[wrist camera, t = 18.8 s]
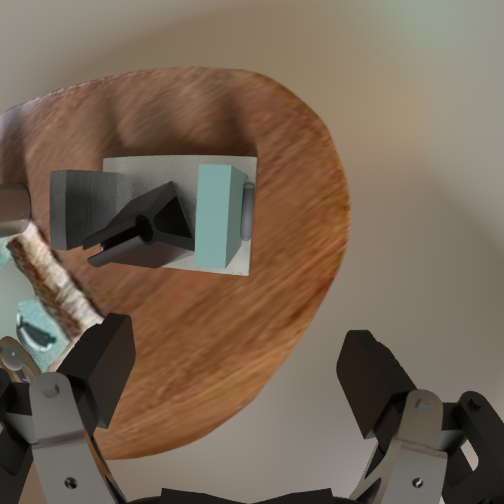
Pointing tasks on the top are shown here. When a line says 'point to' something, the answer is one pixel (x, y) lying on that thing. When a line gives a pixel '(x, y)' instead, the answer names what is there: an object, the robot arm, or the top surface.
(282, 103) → the top surface
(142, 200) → the phone stand
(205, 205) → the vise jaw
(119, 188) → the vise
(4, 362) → the alarm clock
